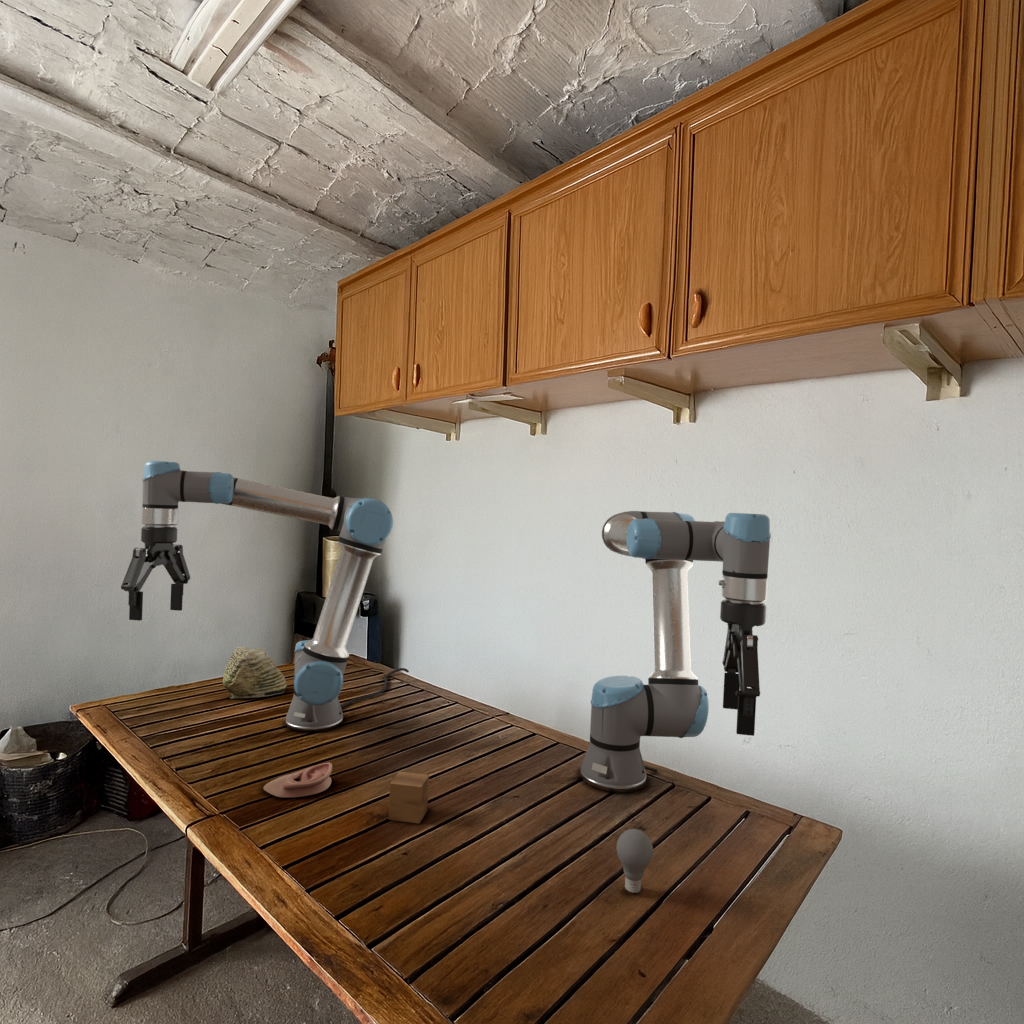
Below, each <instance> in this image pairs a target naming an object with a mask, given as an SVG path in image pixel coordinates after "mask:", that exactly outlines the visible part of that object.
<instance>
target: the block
mask: <svg viewBox="0 0 1024 1024" xmlns="http://www.w3.org/2000/svg"><path fill="white" fill-rule="evenodd" d="M429 787H430V774H425V773H416V772H407V771H399V772H398V773H397V774H395V777H393V779H392V780H391V781H390V783H389V799H388V800H389V801H388V821H394V822H395V821H397V822H402V823H411V824H420V823H421V821H422V820H423V819H424V817H425V815H426V813H428V810H429V789H430V788H429Z"/></svg>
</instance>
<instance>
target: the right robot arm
mask: <svg viewBox="0 0 1024 1024" xmlns="http://www.w3.org/2000/svg"><path fill="white" fill-rule="evenodd" d="M724 518H725V519H724V521H718V520H715V521H703V520H695V518H694V517H693V516H692V515H691V514H689V513H683V512H676V511H671V512H670V511H641V510H629V511H623V512H619V513H616V514H613V515H611V516H610V517H609V518H607V519H606V521H605V522H604V524H603V526H602V529H601V539H602V542H603V544H604V545H605V547H606V548H607V549H609V551H611V552H613V553H616V554H618V555H622V556H625V557H626V556H627V557H632V558H634V559H635V558H636V559H643V560H645V561H644V562H645V567H646V568H647V569H648V570H649V571H650V572H651V586H652V587H651V588H652V592H651V593H652V625H653V626H652V628H653V664H654V665H653V667H654V669H653V671H652V672H651V673H650V674H649V675H648V677H647V680H648V681H647V682H648V683H647V684H644V683H643V680H642V679H641V678H639V677H637V676H633V675H631V676H628V675H611V676H607V677H603V678H601V679H599V680H598V681H596V682H595V683H594V684H593V686H592V692H591V699H590V707H591V709H590V729H589V744H588V746H587V749H586V751H585V755H584V756H583V757H584V758H583V761H582V762H581V766H580V773H579V774H580V778H581V780H582V781H583V782H584V783H586V784H587V785H589V786H591V787H592V788H595V789H597V790H601V791H606V792H610V793H611V792H612V793H631V792H636V791H639V790H640V789H641V790H642V789H643V788H644V787H645V786H646V784H647V771H649V772H653V773H658V769H657V768H654V767H650V766H648V765H645V763H644V759H643V756H642V753H641V748H640V745H641V737H661V738H679V739H683V738H696V737H698V736H700V735H701V734H702V733H703V732H704V730H705V727H706V725H707V721H708V718H709V710H710V709H709V708H710V707H709V705H710V704H709V703H710V701H709V696H708V692H707V689H706V688H705V687H704V686H702V685H699V677H698V676H696V675H695V674H694V673H693V671H692V659H691V657H692V656H691V655H692V654H691V631H690V607H689V586H688V585H689V584H688V572H689V570H691V568H692V567H694V561H697V562H698V561H702V562H721V563H722V579H721V580H718V585H719V586H721V597H722V598H724V599H722V600H721V601H720V610H719V611H720V612H719V613H720V614H719V619H720V620H721V622H723V623H725V624H727V625H726V626H727V631H726V639H725V645H724V652H723V659H722V666H723V670H724V673H723V674H724V676H723V695H722V708H723V709H725V710H726V709H727V710H728V709H729V710H736V711H737V713H736V731H735V732H736V735H741V736H752V737H755V731H756V730H755V729H756V711H757V697H760V696H761V688H760V687H761V686H760V672H759V651H758V649H759V648H758V646H759V643H758V642H759V637H758V635H754V634H753V633H754V632H753V628H754V627H762V626H765V624H766V621H767V620H766V617H767V605H766V604H765V603H764V602H766V601H767V600H768V588H769V587H768V586H769V585H768V584H769V578H768V574H769V572H768V571H769V559H770V543H771V537H772V533H771V520H770V517H769V516H768V515H767V514H764V513H745V512H729V513H727V514H726V516H725V517H724Z"/></svg>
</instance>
